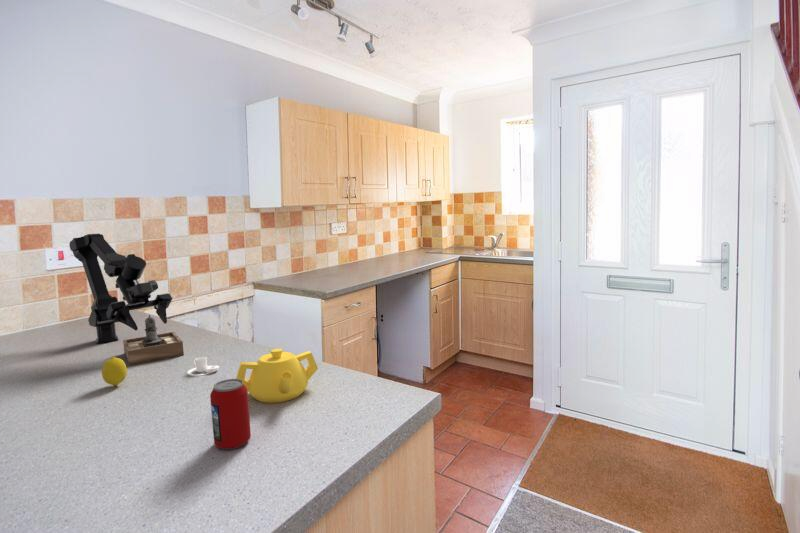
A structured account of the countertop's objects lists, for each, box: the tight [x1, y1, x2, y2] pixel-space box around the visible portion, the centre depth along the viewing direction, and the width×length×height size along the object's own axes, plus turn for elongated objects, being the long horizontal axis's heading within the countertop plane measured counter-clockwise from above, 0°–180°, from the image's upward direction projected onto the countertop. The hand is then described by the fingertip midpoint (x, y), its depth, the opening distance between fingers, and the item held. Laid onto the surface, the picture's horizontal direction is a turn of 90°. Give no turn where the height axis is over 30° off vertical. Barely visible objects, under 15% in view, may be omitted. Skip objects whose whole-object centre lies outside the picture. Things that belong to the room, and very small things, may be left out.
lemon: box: [101, 356, 128, 387], centre depth 118 cm, size 6×6×8 cm
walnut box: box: [122, 331, 184, 367], centre depth 145 cm, size 15×15×4 cm
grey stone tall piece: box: [142, 314, 162, 347], centre depth 144 cm, size 6×6×12 cm
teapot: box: [235, 348, 319, 404], centre depth 109 cm, size 20×18×11 cm
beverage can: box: [209, 378, 252, 450], centre depth 87 cm, size 7×7×12 cm
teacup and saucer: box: [186, 356, 220, 377], centre depth 128 cm, size 9×8×4 cm
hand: (151, 326), depth 144 cm, fingers open, 9 cm apart
